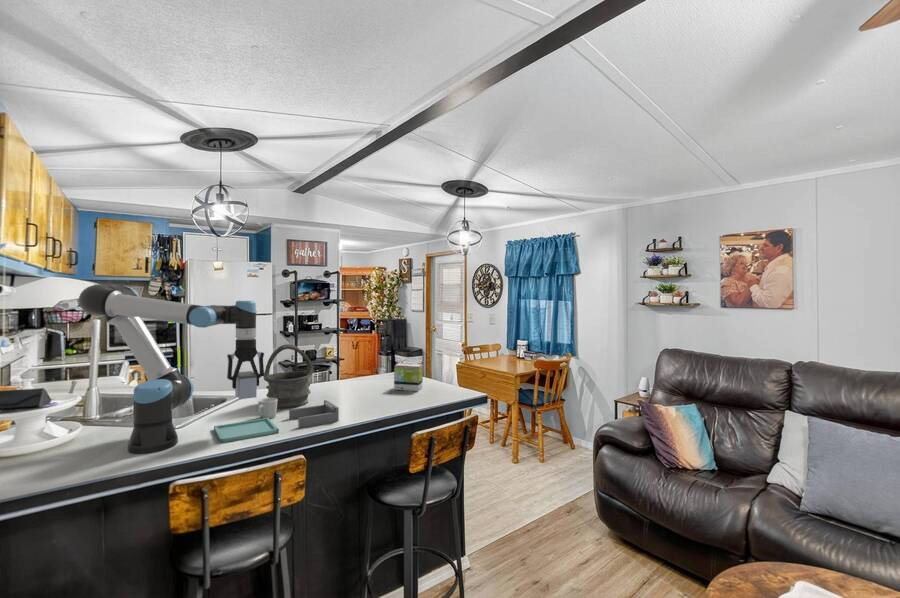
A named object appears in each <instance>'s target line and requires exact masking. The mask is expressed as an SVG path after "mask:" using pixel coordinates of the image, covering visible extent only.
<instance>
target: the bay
mask: <svg viewBox="0 0 900 598" xmlns="http://www.w3.org/2000/svg"><path fill="white" fill-rule="evenodd" d="M339 409H340V408H339V407H338V406H337V405H335V404H333V403H332V402H330V400H329V401H328V400H327V399H325V400H323V404H319V405H313V406H307V407H300V408H292V409H289V410H288V419H289V420H295V419H297V424H298V425H297V427H298V429H302V428H303V429H304V428H309V427H314V426H318V425H319V424H320V425H325V424H329V423H330V422H331V423H336V422H335V421H337V422H339V415H340V414H339V412H340V410H339Z"/></svg>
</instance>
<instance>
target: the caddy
mask: <svg viewBox="0 0 900 598" xmlns="http://www.w3.org/2000/svg"><path fill="white" fill-rule="evenodd" d="M256 378H257V375H256V374H255V373H254V372H253V370H249V371H239V373H238V376H237V379H236V380H238V397H237V398H238V399H239V400H246V399H255V398H257V395H256Z"/></svg>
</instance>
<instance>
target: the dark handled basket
mask: <svg viewBox="0 0 900 598" xmlns="http://www.w3.org/2000/svg"><path fill="white" fill-rule="evenodd" d="M285 350H292V351H295V352H296V353H297V354H299V355H300V356H301V357H302V358H303V360H304V361H305V363H306V366H307V370H305V371H302V370H301V371H296V370H295V371H284V372H276V373H272V374H271V373H270V372H271V371H270V369H271V366H272V364H273V361H274V360H275V358H276V357H277V356H278V354H280V353H281V352H283V351H285ZM314 369H315V368H314V365H313V363H312V361H311V360H310V358H309V357H308V355H307V354H306V353H305V352H304V351H303V350H302V349H300V348H299V347H298V346H296V345H295V344H291V343H289V344H288V343H287V344H281V346H278V347H277V348H276V349H275V350H273V352H272V353H271V355H270V356H269V358H268V360H267V363H266V366H265V368H264V376H263V380H264V381H265V382H267V384H268V385H267V386H265V388H266V389H267V393H266V395H265V396H266V398H277V399H278V401H277V409H287V408H288V409H289V408H296V407H301V406H304V405H306V404H308V403H309V399H308V398H309V395H310V394H311V393H312V391H311V389H310V387H311V383H309V382H308V381H309V378H311V376H312V375H313V374H314Z"/></svg>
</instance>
